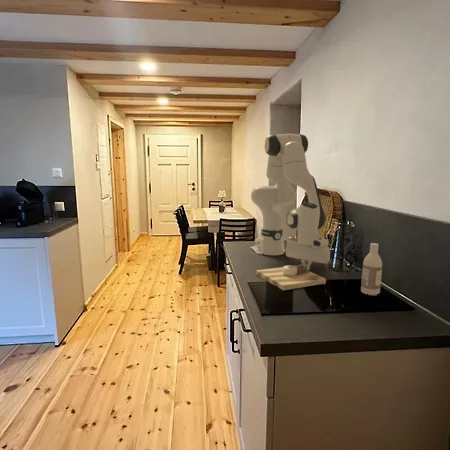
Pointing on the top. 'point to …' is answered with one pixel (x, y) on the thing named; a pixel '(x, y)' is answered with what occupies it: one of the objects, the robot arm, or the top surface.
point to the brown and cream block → (293, 270)
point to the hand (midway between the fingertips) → (306, 269)
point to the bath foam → (372, 272)
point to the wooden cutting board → (290, 278)
